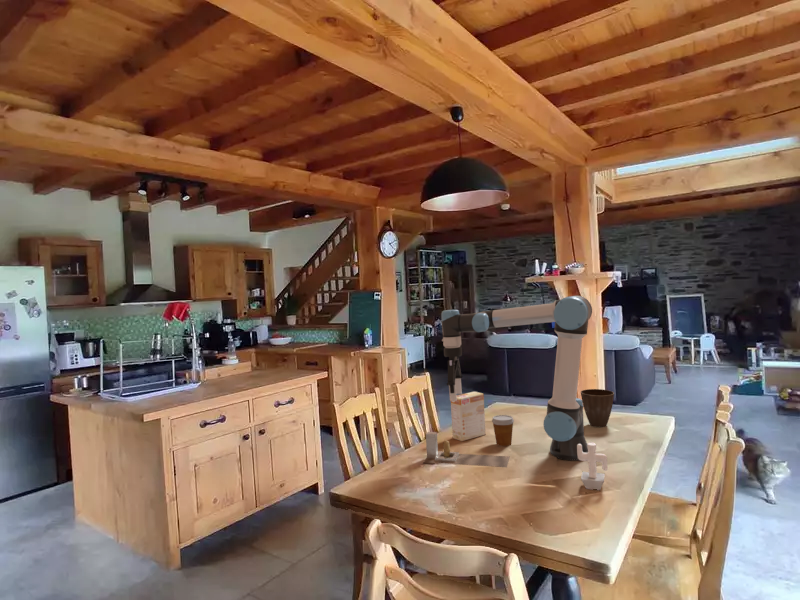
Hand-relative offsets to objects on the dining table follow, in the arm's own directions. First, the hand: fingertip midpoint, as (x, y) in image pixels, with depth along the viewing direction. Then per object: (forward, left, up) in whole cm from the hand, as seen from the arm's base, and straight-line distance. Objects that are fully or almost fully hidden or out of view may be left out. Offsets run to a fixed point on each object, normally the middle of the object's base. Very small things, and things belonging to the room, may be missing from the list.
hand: (456, 397), depth 210 cm
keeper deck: (-5, +8, -24) cm, 26 cm away
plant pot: (-58, -50, -24) cm, 80 cm away
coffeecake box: (0, -24, -24) cm, 34 cm away
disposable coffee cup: (-17, -14, -24) cm, 33 cm away
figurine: (-51, +26, -24) cm, 63 cm away
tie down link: (+5, +8, -23) cm, 25 cm away
